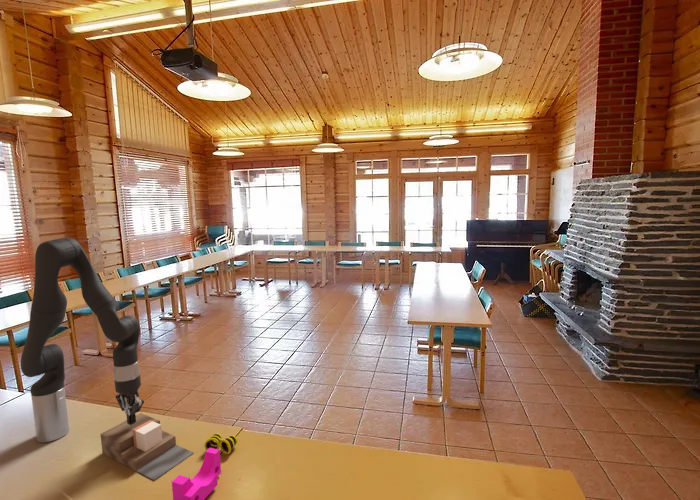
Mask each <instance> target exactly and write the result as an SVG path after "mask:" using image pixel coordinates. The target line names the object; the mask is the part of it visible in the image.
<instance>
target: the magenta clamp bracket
mask: <svg viewBox="0 0 700 500" xmlns="http://www.w3.org/2000/svg"><path fill="white" fill-rule="evenodd" d="M220 450H221V449H219V448H218V449H214V448H209V449H208V450H206V449H205V451H204V459H203V461H202V464H201V466H200V468H199V470H198V471H197V472H196V474H195V475H194V477H192V478H190V477H188V476H185V475H181V474H178V475H177V476H176V477H175V478H174V479H173V480H171V491H172V500H205V499H206V498H207V497H208V496H209V495H210V494H211V493H212V492H213V491H214V489H215V488H216V487H217V486H218V477H219V475H221V473H222V466H221V465H222V464H221V453H220Z"/></svg>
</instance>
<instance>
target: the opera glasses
mask: <svg viewBox="0 0 700 500" xmlns="http://www.w3.org/2000/svg"><path fill="white" fill-rule="evenodd" d="M237 444H238V439H237V437H236V435H233V434H231V435H229V436H228V437H226V438H224V439H223V437H222V435H221V434H220V433H218V432H215V433H213V434H212V436H210V438H208V439H206V440H205V442H204V445H203V446H204V449H205V451H206V450H208V449H209V448H214V449H218V450H219V449H220V450H221V451H222V453H223V454H225V455H229V454H230V453H231V452H232V450H233V449H234V447H235V446H236V445H237Z"/></svg>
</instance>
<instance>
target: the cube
mask: <svg viewBox="0 0 700 500" xmlns="http://www.w3.org/2000/svg"><path fill="white" fill-rule="evenodd" d="M161 430H162V424H161V423H160V424H158V423H156V422H153V421H151V420H149V421H147V422H146V423H144V424H142V425H140V426H138V427H136V428H135V429H133V439H134V447H136V448H138V449H141V450H143V451H145V452H146V451H147V450H149V449H151V448H152V447H154V446H155V445H157V444H159V443H160V442H162V431H163V430H162V431H161Z"/></svg>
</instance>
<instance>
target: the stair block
mask: <svg viewBox="0 0 700 500" xmlns="http://www.w3.org/2000/svg"><path fill="white" fill-rule="evenodd" d="M135 415H136V422H135V423H134V424H132V425H129V424H127V420H125V421H123V422H121V423H119V424H116V425H115V426H114V427H111V428H109V429H108V430H105V431H103V432H102V433H100V441H101V443H100V444H101V451H102V454H103V455H105V456H107V457H108V458H111V459H112V460H114V461H116V462H118V463H120V464H121V465H124V466H126V467H128V468H130V469H131V470H133V471H134V472H137V473H138V474H141V475H142V476H144V477H146V478H149V479H150V480H152V481H154V482H155V481H157V480H158V479H159V478H161V477H162V476H164V475H165V474H167V473H168V472H169V471H171V470H172V469H174V468H175V467H176V466H177V465H179V464H181V463H182V462H184V461H185V460H186V459H188V458H189V457H190V456H193V455H194V454H195V452H193V451H191V450H189V449H187V448H184V447H182V446H180V445H177V442H176V440H177V439H176V436H175V435H174V434H171V433H169V432H167V431H164V430H162V429H161V431H162V442H160V443H159V444H157V445H155V446H154V447H152V448H151V449H149V450H147V451H146V452H145V451H143V450H141V449H138V448H136V447H134V439H133V429H135V428H136V427H138V426H140V425H142V424H144V423H146V422H147V421H149V420H151V421H153V422H156V423H158V424H161V420H159V419H157V418H154V417H151V416H149V415H147V414H144V413H142V412H140V413H139V414H135Z"/></svg>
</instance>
